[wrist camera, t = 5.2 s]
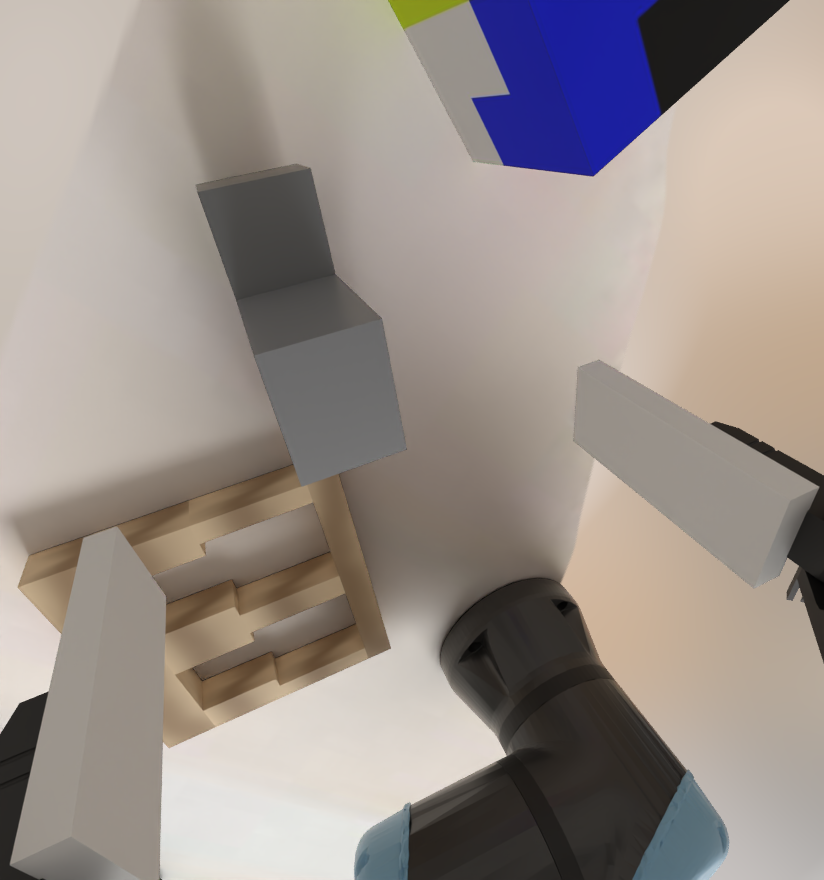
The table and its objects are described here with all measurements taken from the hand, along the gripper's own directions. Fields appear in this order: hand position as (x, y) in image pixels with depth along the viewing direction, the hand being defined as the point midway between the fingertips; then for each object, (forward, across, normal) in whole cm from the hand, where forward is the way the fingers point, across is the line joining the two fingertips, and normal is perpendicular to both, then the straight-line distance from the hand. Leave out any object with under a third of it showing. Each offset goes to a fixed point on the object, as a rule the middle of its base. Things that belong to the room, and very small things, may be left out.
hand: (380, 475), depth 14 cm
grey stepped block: (+16, 0, +1) cm, 16 cm away
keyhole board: (+16, +9, +20) cm, 27 cm away
